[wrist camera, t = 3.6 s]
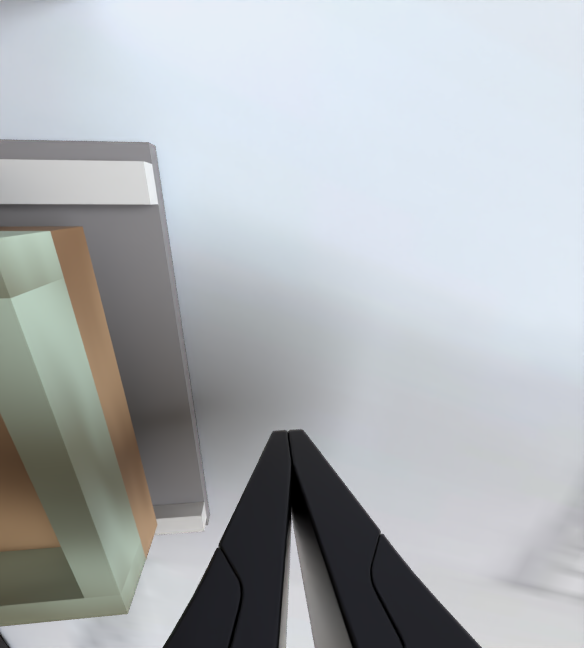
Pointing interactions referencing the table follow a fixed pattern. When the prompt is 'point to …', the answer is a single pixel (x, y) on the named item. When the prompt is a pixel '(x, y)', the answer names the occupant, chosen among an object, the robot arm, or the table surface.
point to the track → (124, 295)
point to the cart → (64, 440)
